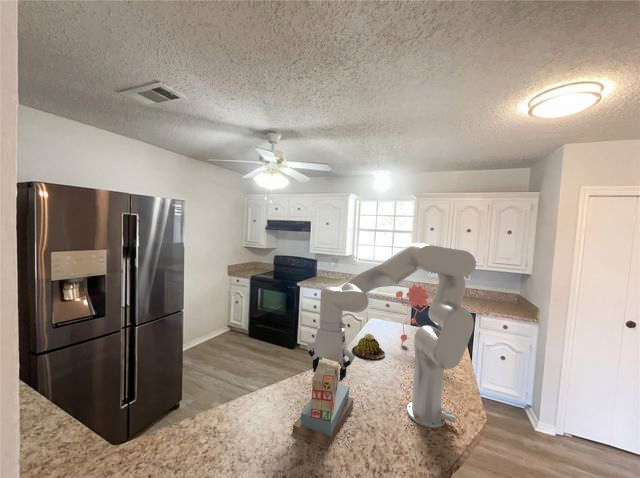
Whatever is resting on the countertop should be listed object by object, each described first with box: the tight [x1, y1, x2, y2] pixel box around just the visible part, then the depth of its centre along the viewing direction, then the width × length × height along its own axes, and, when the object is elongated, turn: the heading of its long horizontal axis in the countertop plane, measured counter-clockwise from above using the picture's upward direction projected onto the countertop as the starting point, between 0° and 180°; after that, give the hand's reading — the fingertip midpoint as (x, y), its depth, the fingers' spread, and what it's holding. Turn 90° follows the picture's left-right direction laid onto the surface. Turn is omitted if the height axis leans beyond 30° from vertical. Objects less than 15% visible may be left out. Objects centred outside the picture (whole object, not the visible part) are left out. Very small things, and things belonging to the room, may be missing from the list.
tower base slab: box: [292, 396, 354, 448], centre depth 90 cm, size 12×22×4 cm, turn 153°
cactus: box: [351, 333, 386, 360], centre depth 141 cm, size 17×16×10 cm
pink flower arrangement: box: [395, 284, 432, 346], centre depth 152 cm, size 15×26×35 cm, turn 45°
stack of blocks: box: [311, 358, 340, 421], centre depth 90 cm, size 21×6×12 cm, turn 170°
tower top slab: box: [300, 383, 350, 436], centre depth 90 cm, size 10×20×4 cm, turn 158°
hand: (328, 374), depth 89 cm, fingers open, 9 cm apart
